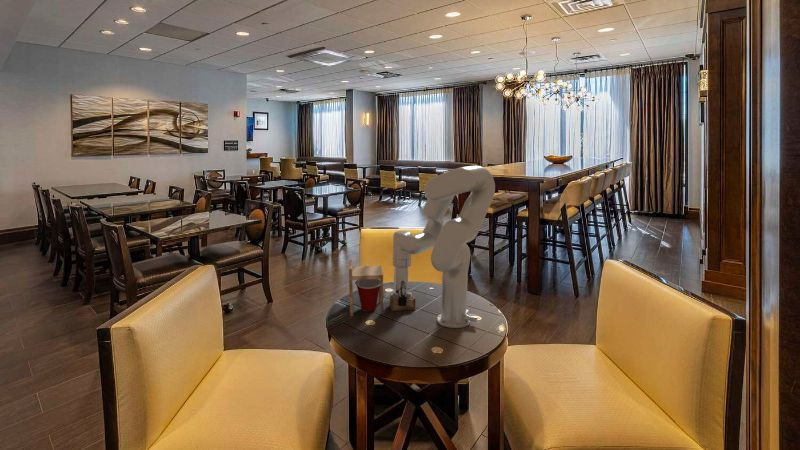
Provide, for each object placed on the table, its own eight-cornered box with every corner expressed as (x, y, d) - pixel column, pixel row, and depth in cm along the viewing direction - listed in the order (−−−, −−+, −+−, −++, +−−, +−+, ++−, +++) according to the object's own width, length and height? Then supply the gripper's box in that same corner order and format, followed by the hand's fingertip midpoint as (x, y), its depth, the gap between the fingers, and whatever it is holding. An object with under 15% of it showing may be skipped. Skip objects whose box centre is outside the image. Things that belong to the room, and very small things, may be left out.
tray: (413, 304, 181) (413, 290, 180) (415, 309, 175) (415, 295, 174) (389, 305, 180) (389, 291, 178) (391, 310, 174) (391, 296, 173)
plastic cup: (356, 315, 169) (356, 286, 167) (354, 305, 180) (354, 277, 178) (383, 313, 171) (383, 284, 169) (380, 303, 182) (380, 276, 179)
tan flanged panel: (381, 302, 183) (380, 258, 179) (383, 314, 170) (383, 267, 166) (350, 304, 181) (348, 259, 177) (350, 316, 168) (348, 268, 165)
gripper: (390, 255, 181) (389, 293, 185) (395, 268, 165) (394, 309, 168) (408, 255, 182) (407, 293, 186) (414, 267, 166) (412, 309, 169)
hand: (400, 300), depth 177 cm, fingers open, 9 cm apart
